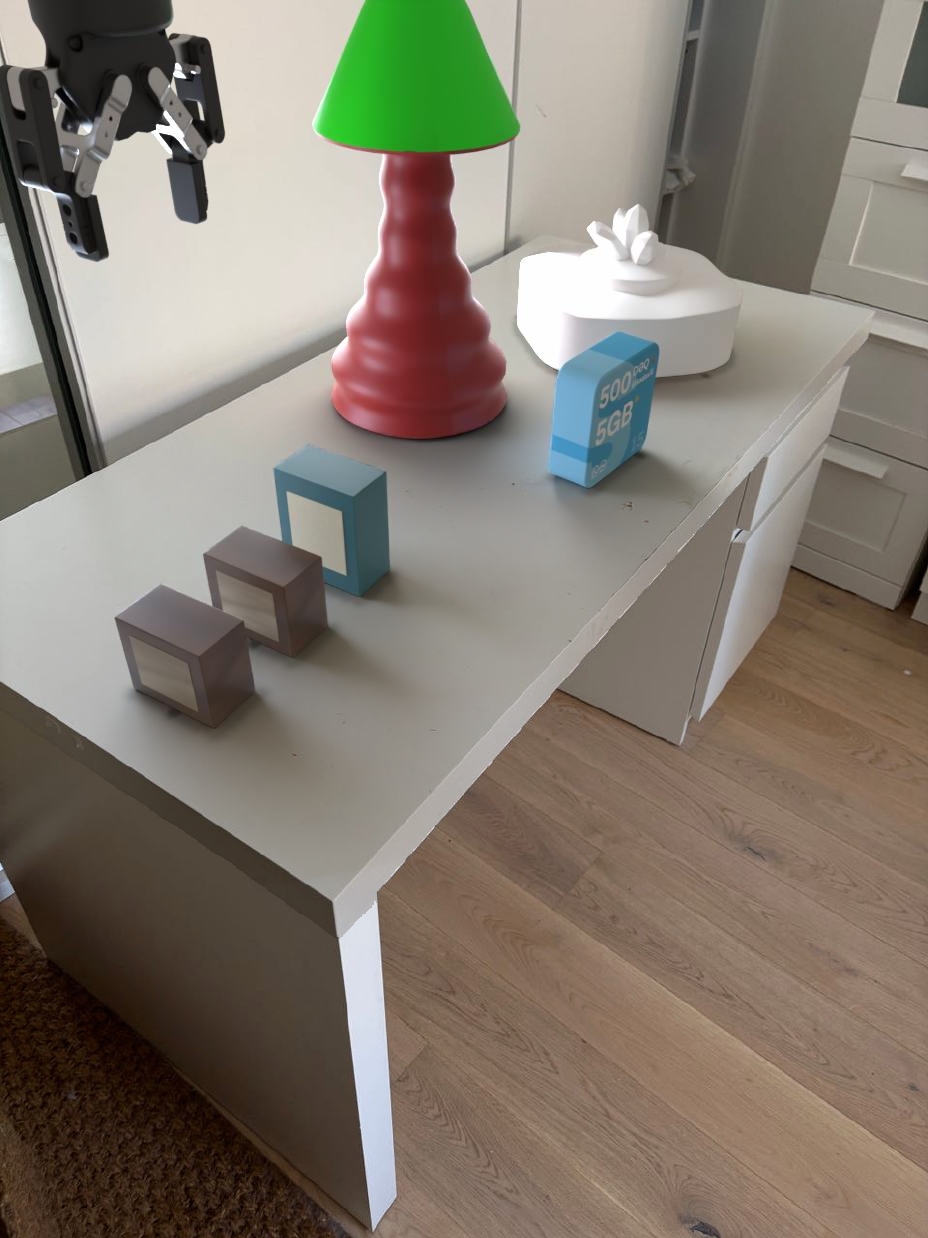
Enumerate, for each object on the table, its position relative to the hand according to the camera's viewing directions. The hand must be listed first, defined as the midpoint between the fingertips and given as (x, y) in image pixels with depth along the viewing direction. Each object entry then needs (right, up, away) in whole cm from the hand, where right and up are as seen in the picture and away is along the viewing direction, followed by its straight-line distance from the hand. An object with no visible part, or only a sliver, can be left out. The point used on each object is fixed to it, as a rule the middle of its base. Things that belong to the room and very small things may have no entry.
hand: (145, 238), depth 61 cm
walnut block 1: (0, -29, +12) cm, 32 cm away
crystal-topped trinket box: (+40, +12, +63) cm, 76 cm away
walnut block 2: (+5, -24, +18) cm, 31 cm away
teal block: (+9, -20, +24) cm, 32 cm away
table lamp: (+15, +1, +48) cm, 51 cm away
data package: (+34, -8, +39) cm, 52 cm away
